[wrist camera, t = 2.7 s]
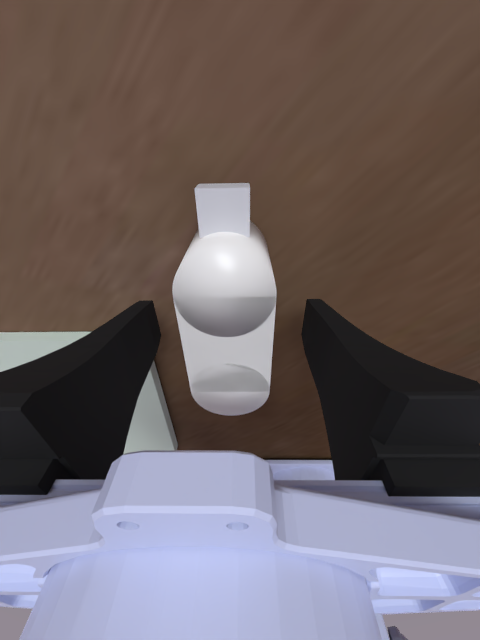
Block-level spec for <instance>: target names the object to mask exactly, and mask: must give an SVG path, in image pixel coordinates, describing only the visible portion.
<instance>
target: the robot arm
mask: <svg viewBox="0 0 480 640" xmlns="http://www.w3.org/2000/svg"><path fill="white" fill-rule="evenodd" d="M160 337H161V333H160V329H159V325H158V321H157V316H156V312H155V308H154V304H153V301H138V302H137V303H135V304H133V305H132V306H130V307H129V308H127V309H126V310H124V311H123V312H122V313H120V314H119V315H117V316H116V317H114V318H113V319H111V320H110V321H108V322H107V323H105V324H104V325H102V326H100V327H99V328H97V329H96V330H94V331H92V332H91V333H89V334H87V335H86V336H84V337H82V338H80V339H79V340H77V341H75V342H73V343H71V344H69V345H67V346H65V347H63V348H61V349H58V350H56V351H54V352H52V353H49V354H47V355H45V356H42V357H40V358H38V359H35V360H33V361H30V362H27V363H25V364H22V365H19V366H17V367H14V368H11V369H8V370H5V371H2V372H0V607H14V608H29V609H33V610H32V612H31V614H30V616H29V618H28V621H27V623H26V625H25V628H24V630H23V632H22V634H21V637H20V639H19V640H389V637H390V640H408V639H407V638H405V637H404V636H403V635H402V634H400V632H399V630H398V629H397V627H395V626H392V627H387V628H388V633H389V637H388V633H387V630H386V626H385V623H384V619H383V616H382V614H401V613H402V614H403V613H424V612H449V611H474V610H480V446H479V443H480V384H479V383H478V382H477V381H474V380H471V379H468V378H465V377H462V376H459V375H456V374H452V373H449V372H446V371H443V370H440V369H438V368H435V367H433V366H430V365H427V364H425V363H422V362H420V361H418V360H415V359H413V358H410V357H408V356H406V355H404V354H402V353H400V352H398V351H396V350H394V349H392V348H390V347H388V346H386V345H384V344H382V343H381V342H379V341H377V340H375V339H374V338H372V337H370V336H369V335H367V334H366V333H364V332H363V331H361V330H360V329H358V328H357V327H355V326H354V325H353V324H351V323H350V322H349V321H347V320H346V319H345V318H343V317H342V316H341V315H340V314H338V313H337V312H336V311H335V310H333V309H332V308H331V307H330V306H328V305H327V304H326V303H325V302H323V301H322V300H321V299H307V301H306V308H305V315H304V321H303V328H302V340H303V345H304V350H305V354H306V357H307V360H308V363H309V366H310V369H311V372H312V375H313V378H314V381H315V384H316V387H317V390H318V394H319V397H320V401H321V406H322V410H323V415H324V420H325V425H326V430H327V435H328V440H329V446H330V452H331V457H332V460H264V459H262V458H260V457H258V456H256V455H254V454H253V453H247V452H240V451H216V450H143V451H137V452H130V453H126V454H124V455H123V453H124V449H125V444H126V440H127V436H128V432H129V428H130V425H131V421H132V417H133V414H134V410H135V407H136V403H137V400H138V397H139V395H140V392H141V389H142V387H143V385H144V382H145V380H146V377H147V375H148V373H149V370H150V368H151V366H152V363H153V361H154V358H155V356H156V353H157V350H158V346H159V342H160Z"/></svg>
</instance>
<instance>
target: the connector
mask: <svg viewBox="0 0 480 640" xmlns="http://www.w3.org/2000/svg"><path fill="white" fill-rule="evenodd" d="M195 197H196V207H197V216H198V226H199V229H198V231H197V232H196V234H195V236H194V238H193V240H192V242H191V244H190V246H189V248H188V250H187V252H186V254H185V256H184V258H183V260H182V262H181V264H180V266H179V268H178V270H177V272H176V275H175V277H174V281H173V289H172V292H173V300H174V305H175V310H176V315H177V321H178V326H179V331H180V336H181V342H182V347H183V352H184V358H185V363H186V368H187V373H188V379H189V384H190V389H191V393H192V396H193V398H194V400H195V401H196V402H197V403H198V404H199V405H200V406H201V407H203V408H204V409H206V410H208V411H210V412H213V413H216V414H220V415H229V416H234V415H243V414H247V413H250V412H252V411H255V410H256V409H258V408H260V407H261V406H262V405H263V404H264V403H265V402H266V400H267V399H268V396H269V392H270V378H271V365H272V351H273V337H274V323H275V309H276V285H275V280H274V275H273V271H272V266H271V261H270V257H269V252H268V248H267V243H266V240H265V238H264V235H263V234H262V232H261V231H260V229H259V228H258V227H257V226H256V225H255V224H254V223H252V222H251V221H250V184H249V183H221V184H198V185H197V186H196V187H195Z"/></svg>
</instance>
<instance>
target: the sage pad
mask: <svg viewBox="0 0 480 640" xmlns="http://www.w3.org/2000/svg"><path fill="white" fill-rule="evenodd" d="M89 333H91V332H0V372H2V371H5V370H8V369H11V368H14V367H17V366H19V365H22V364H25V363H27V362H30V361H33V360H35V359H38V358H40V357H42V356H45V355H47V354H49V353H52V352H54V351H56V350H58V349H61V348H63V347H65V346H67V345H69V344H71V343H73V342H75V341H77V340H79V339H80V338H82V337H84V336H86V335H87V334H89ZM177 447H178V443H177V440H176V436H175V433H174V429H173V426H172V422H171V419H170V415H169V412H168V408H167V405H166V401H165V398H164V394H163V391H162V387H161V383H160V380H159V376H158V373H157V369H156V366H155V362H154V361H153V363H152V366H151V368H150V370H149V373H148V375H147V377H146V380H145V382H144V385H143V387H142V389H141V392H140V395H139V397H138V400H137V403H136V407H135V410H134V414H133V417H132V421H131V425H130V428H129V432H128V436H127V440H126V444H125V449H124V453H123V454H126V453H130V452H137V451H143V450H177Z"/></svg>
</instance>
